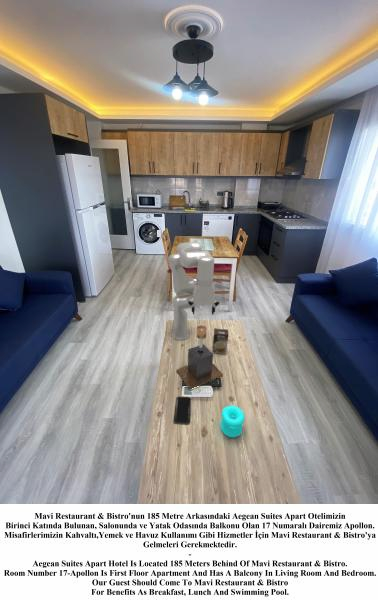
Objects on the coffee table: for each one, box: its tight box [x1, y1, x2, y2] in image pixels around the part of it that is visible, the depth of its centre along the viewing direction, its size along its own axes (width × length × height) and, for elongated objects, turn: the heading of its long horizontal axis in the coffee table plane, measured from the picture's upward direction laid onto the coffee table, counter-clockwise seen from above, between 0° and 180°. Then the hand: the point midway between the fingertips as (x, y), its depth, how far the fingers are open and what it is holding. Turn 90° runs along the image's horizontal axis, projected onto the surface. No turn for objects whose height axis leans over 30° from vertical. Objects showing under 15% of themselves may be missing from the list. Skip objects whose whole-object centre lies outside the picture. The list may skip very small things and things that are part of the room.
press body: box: [175, 343, 224, 390], centre depth 137 cm, size 16×22×16 cm
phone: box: [173, 396, 192, 425], centre depth 119 cm, size 8×1×15 cm
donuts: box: [219, 405, 246, 438], centre depth 109 cm, size 10×10×10 cm
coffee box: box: [211, 328, 229, 356], centre depth 156 cm, size 9×6×16 cm
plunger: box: [196, 325, 208, 354], centre depth 131 cm, size 8×8×21 cm
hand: (203, 313), depth 122 cm, fingers open, 9 cm apart
